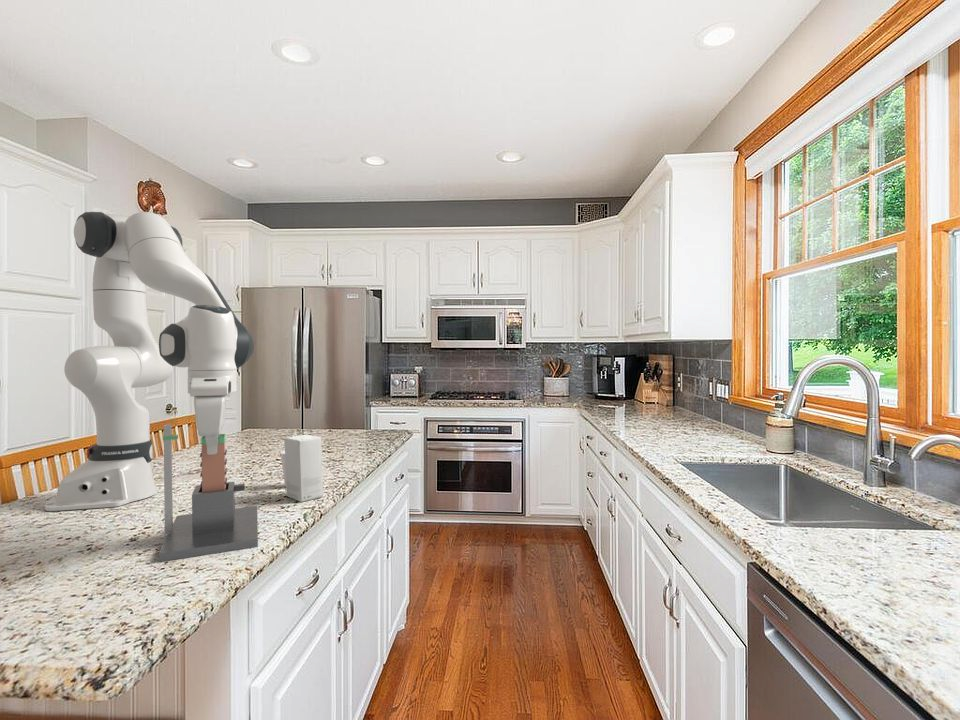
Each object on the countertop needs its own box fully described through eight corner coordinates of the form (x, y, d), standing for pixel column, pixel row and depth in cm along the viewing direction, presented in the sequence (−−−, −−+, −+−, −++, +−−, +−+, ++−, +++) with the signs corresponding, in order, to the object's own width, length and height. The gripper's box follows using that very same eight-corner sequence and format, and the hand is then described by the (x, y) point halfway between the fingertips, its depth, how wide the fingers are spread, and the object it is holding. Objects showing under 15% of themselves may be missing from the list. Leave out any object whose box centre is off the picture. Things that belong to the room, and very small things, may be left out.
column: (200, 500, 96) (199, 438, 96) (202, 495, 100) (201, 435, 99) (226, 497, 98) (225, 436, 98) (227, 492, 102) (226, 433, 101)
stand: (154, 562, 85) (152, 433, 85) (173, 523, 105) (172, 418, 105) (257, 546, 92) (256, 427, 92) (257, 512, 112) (256, 414, 112)
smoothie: (308, 483, 137) (308, 434, 137) (297, 489, 131) (297, 438, 130) (287, 482, 138) (286, 434, 137) (275, 489, 131) (274, 438, 131)
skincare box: (323, 497, 124) (323, 437, 124) (299, 503, 119) (298, 440, 119) (308, 491, 129) (307, 433, 129) (284, 496, 125) (283, 436, 124)
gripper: (200, 381, 106) (200, 443, 107) (188, 387, 88) (189, 463, 88) (232, 381, 109) (232, 441, 109) (227, 386, 91) (228, 459, 91)
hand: (213, 451), depth 99 cm, fingers closed on column, 4 cm apart
